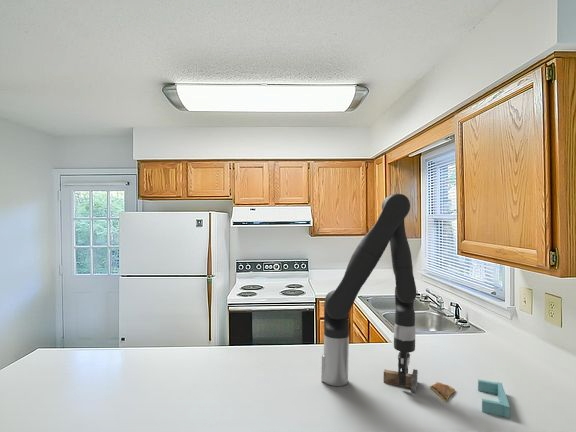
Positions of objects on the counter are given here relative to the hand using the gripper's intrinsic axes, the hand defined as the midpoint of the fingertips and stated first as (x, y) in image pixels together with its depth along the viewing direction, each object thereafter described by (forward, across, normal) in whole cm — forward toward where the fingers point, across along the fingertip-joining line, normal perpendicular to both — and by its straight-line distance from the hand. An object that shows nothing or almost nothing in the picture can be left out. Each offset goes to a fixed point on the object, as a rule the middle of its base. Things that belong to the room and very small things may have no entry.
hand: (403, 380), depth 135 cm
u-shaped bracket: (+2, 0, +28) cm, 29 cm away
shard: (+2, 0, +14) cm, 15 cm away
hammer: (+2, 0, -2) cm, 3 cm away
